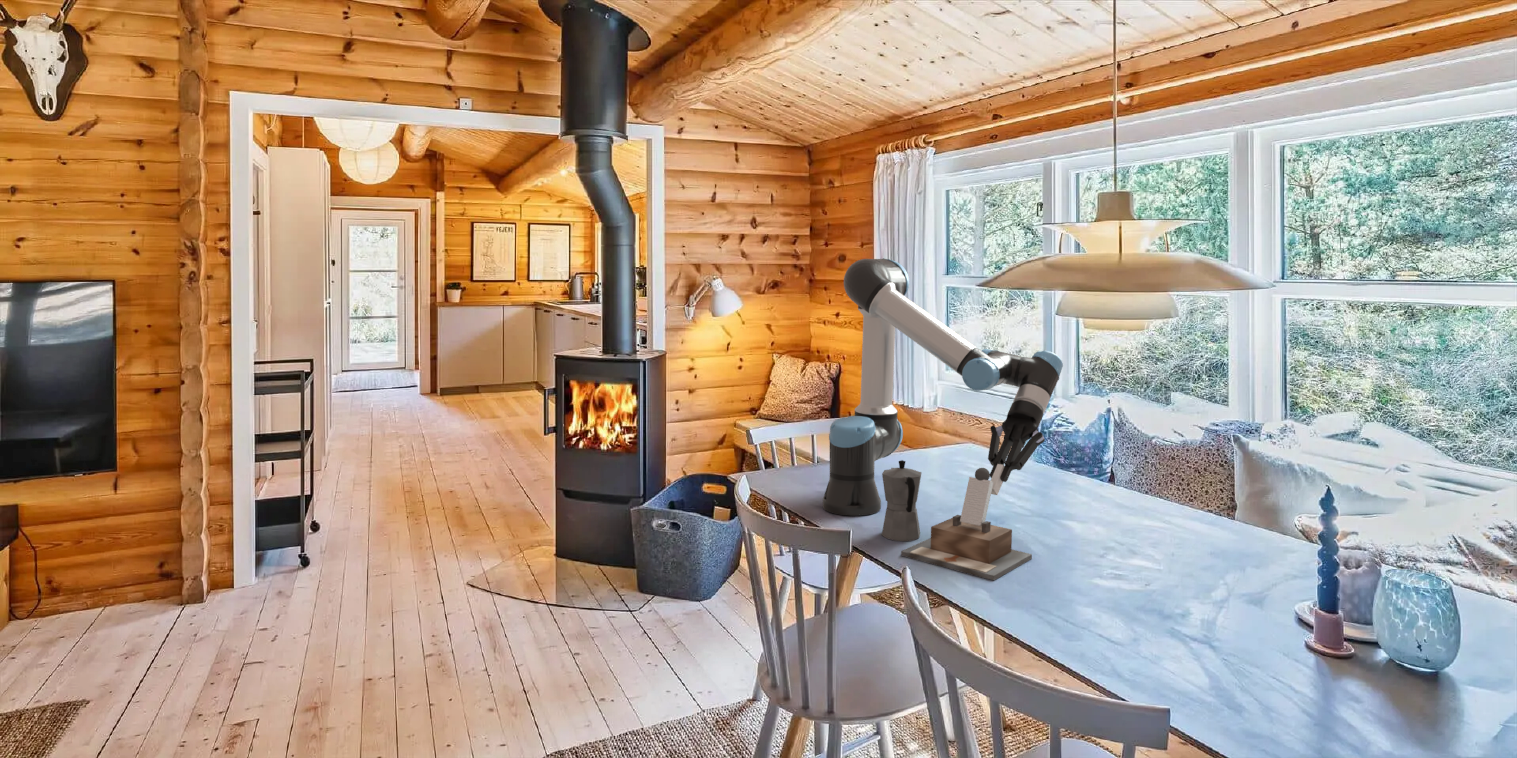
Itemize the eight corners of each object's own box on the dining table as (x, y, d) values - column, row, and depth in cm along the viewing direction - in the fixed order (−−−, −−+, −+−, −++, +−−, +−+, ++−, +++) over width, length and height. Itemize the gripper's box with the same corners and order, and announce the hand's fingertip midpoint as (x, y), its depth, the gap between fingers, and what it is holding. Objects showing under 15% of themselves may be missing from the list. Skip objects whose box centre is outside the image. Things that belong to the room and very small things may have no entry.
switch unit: (901, 555, 181) (901, 520, 180) (942, 536, 193) (942, 503, 192) (993, 580, 166) (994, 542, 165) (1031, 558, 178) (1033, 522, 177)
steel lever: (958, 520, 181) (970, 464, 183) (964, 523, 183) (976, 467, 185) (978, 525, 178) (991, 468, 179) (985, 527, 180) (997, 471, 182)
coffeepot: (874, 527, 201) (875, 454, 198) (912, 525, 202) (913, 453, 199) (891, 548, 186) (892, 470, 183) (932, 546, 187) (933, 468, 184)
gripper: (1059, 421, 193) (1024, 505, 184) (1007, 414, 202) (971, 495, 192) (1050, 401, 189) (1014, 487, 179) (997, 395, 198) (960, 477, 188)
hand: (992, 491), depth 186 cm, fingers closed
